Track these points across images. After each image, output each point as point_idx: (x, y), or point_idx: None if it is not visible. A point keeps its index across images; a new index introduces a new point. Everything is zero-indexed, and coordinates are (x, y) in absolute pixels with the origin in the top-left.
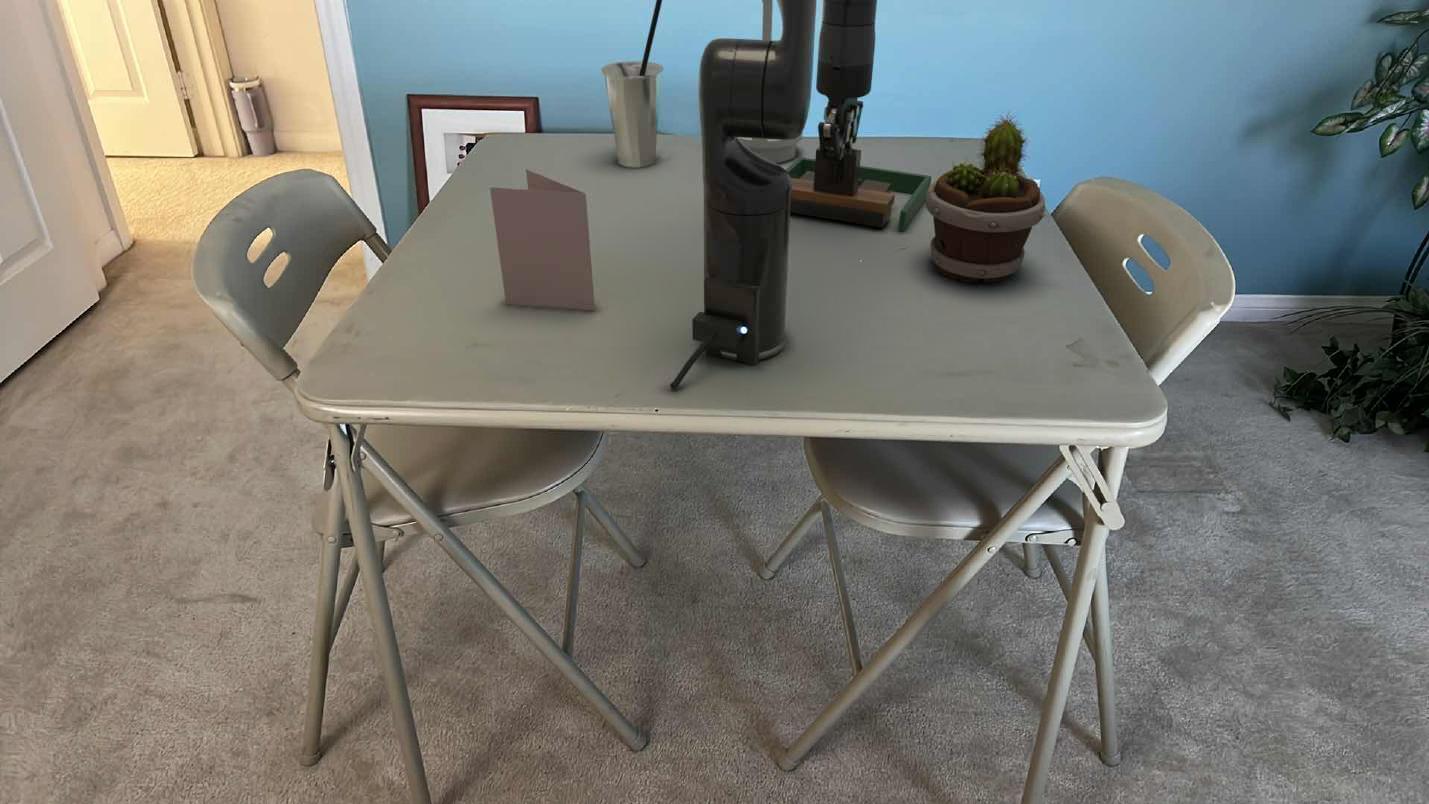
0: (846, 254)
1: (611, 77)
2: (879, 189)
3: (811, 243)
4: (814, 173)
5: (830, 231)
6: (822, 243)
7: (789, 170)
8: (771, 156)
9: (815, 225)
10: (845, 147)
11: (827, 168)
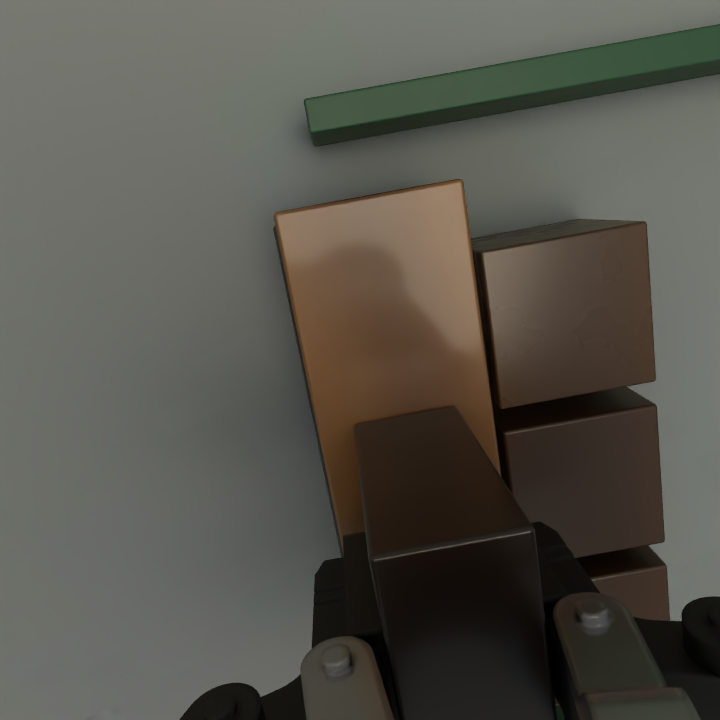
0: (97, 665)
1: None
2: None
3: (95, 515)
4: (362, 462)
5: (255, 519)
6: (126, 550)
7: (687, 60)
8: None
9: (274, 438)
10: (566, 714)
11: (315, 618)
